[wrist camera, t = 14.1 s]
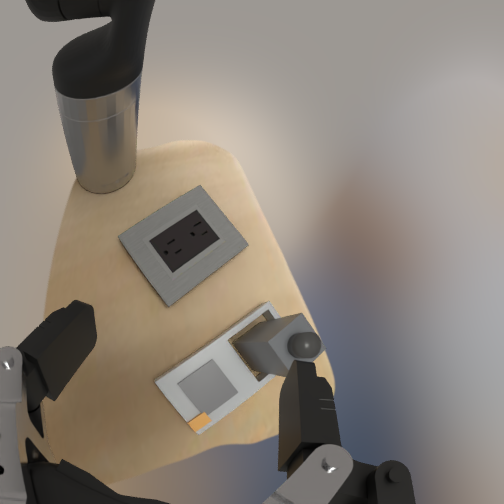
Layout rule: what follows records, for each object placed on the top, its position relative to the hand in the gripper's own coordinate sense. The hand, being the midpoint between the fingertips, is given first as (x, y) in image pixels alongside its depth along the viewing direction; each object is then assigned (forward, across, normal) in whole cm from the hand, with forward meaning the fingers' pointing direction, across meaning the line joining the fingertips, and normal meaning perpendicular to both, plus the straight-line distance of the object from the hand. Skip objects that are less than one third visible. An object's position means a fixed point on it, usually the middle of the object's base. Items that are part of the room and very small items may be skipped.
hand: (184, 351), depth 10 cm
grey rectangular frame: (+18, -2, +18) cm, 25 cm away
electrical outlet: (+26, +7, +7) cm, 27 cm away
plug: (+20, -5, +16) cm, 26 cm away
